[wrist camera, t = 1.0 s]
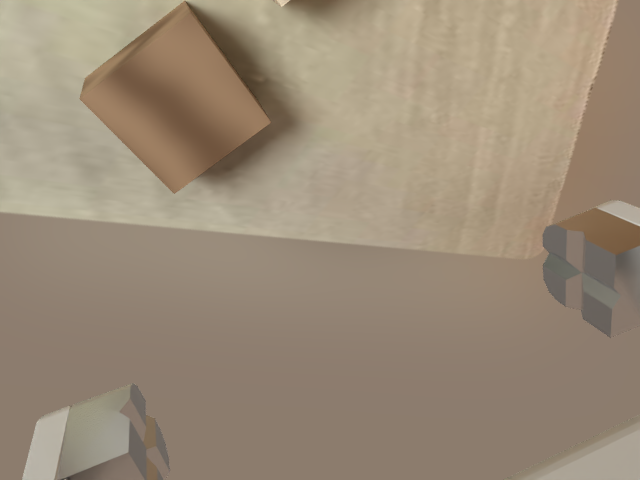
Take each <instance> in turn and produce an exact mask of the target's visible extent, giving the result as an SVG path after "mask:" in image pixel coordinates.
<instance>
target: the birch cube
mask: <svg viewBox="0 0 640 480" xmlns="http://www.w3.org/2000/svg"><path fill="white" fill-rule="evenodd" d="M273 1H274V2H276V3H277V4H279V5H280V6H281V7H282V6H283V5H285V4H286V3H287V2H289V1H290V0H273Z"/></svg>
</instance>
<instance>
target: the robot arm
mask: <svg viewBox="0 0 640 480" xmlns="http://www.w3.org/2000/svg"><path fill="white" fill-rule="evenodd" d="M543 247H544V248H545V249H546V250H547V251H548V252H549V255H548V257H547V258H546V260H545V262H544V264H543V277H544V281H545V283H546V286H547V288H548V290H549V292H550V293H551V294H552V296H553V297H554V298H555V299H556V300H557V301H558V302H560V303H561V304H563V305H564V306H565V307H569V308H573V309H579V310H581V313H582V317H583V319H584V320H585V321H587V322H588V323H590V324H591V325H593V326H594V327H595V328H597V329H598V330H600V331H601V332H603V333H604V334H606V335H607V336H609V337H610V338H611V337H614V336H616V335H619V334H621V333H624V332H626V331H629V330H631V329H633V328H636V327H638V326H640V208H638V207H635V206H633V205H630V204H627V203H625V202H622V201H620V200H619V201H617V200H610V201H608V202H605V203H603V204H601V205H598V206H596V207H593V208H591V209H589V210H588V211H586V212H583V213H580V214H578V215H575V216H573V217H570V218H568V219H565V220H562V221H560V222H558V223H555V224H552V225H550V226H547V227H546V228H545V231H544V233H543ZM169 472H170V468H169V457H168V453H167V448H166V444H165V441H164V438H163V435H162V432H161V430H160V428H159V426H158V424H157V422H156V420H155V418H152V417H150V416H147V415H146V404H145V399H144V397H143V395H142V393H141V391H140V390H139V388H138V386H136V385H135V384H133V383H132V384H129V385H126V386H124V387H121V388H118V389H115V390H113V391H110V392H107V393H104V394H102V395H99V396H96V397H93V398H90V399H88V400H85V401H82V402H79V403H76V404H74V405H73V406H68V407H65V408H63V409H60V410H57V411H55V412H52V413H49V414H47V415H45V416H43V417H41V418H40V419H39V420H38V422H37V424H36V428H35V432H34V436H33V440H32V443H31V447H30V451H29V455H28V459H27V463H26V467H25V471H24V475H23V479H22V480H165V479H166V478H167V476H168V474H169ZM504 480H640V415H638V416H636V417H634V418H632V419H630V420H627V421H625V422H623V423H621V424H619V425H617V426H615V427H613V428H611V429H609V430H607V431H605V432H602V433H601V434H598V435H596V436H594V437H592V438H590V439H588V440H586V441H584V442H581V443H580V444H577V445H575V446H573V447H571V448H569V449H567V450H565V451H563V452H561V453H558V454H556V455H554V456H552V457H550V458H548V459H546V460H544V461H542V462H540V463H538V464H535V465H533V466H531V467H529V468H527V469H525V470H523V471H521V472H519V473H517V474H515V475H513V476H510V477H508V478H506V479H504Z"/></svg>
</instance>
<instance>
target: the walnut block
mask: <svg viewBox="0 0 640 480" xmlns="http://www.w3.org/2000/svg"><path fill="white" fill-rule="evenodd" d="M80 100H81V101H82V102H83V103H84V104H85V105H86V106H87V107H88V108H89V109H90V110H91V111H92V112H93V113H94V114H95V115H96V116H97V117H98V118H99V119H100V120H101V121H102V122H103V123H104V124H105V125H106V126H107V127H108V128H109V129H110V130H111V131H112V132H113V133H114V134H115V135H116V136H117V137H118V138H119V139H120V140H121V141H122V142H123V143H124V144H125V145H126V146H127V147H128V148H129V149H130V150H131V151H132V152H133V153H134V154H135V155H136V156H137V157H138V158H139V159H140V160H141V161H142V162H143V163H144V164H145V165H146V166H147V167H148V168H149V169H150V170H151V171H152V172H153V173H154V174H155V175H156V176H157V177H158V178H159V179H160V180H161V181H162V182H163V183H164V184H165V185H166V186H167V187H168V188H169V189H170V190H171V191H172V192H173V193H174V194H175V193H176V192H177V191H179V190H180V189H182V188H183V187H184V186H186V185H187V184H188V183H190V182H191V181H192V180H194V179H195V178H196V177H198V176H199V175H201V174H202V173H203V172H205V171H206V170H207V169H209V168H210V167H211V166H213V165H214V164H215V163H217V162H218V161H220V160H221V159H222V158H224V157H225V156H226V155H228V154H229V153H230V152H232V151H233V150H235V149H236V148H237V147H239V146H240V145H241V144H243V143H244V142H245V141H247V140H248V139H249V138H251V137H252V136H254V135H255V134H256V133H258V132H259V131H260V130H262V129H263V128H264V127H266V126H267V125H268V124H270V123H271V121H270V119H269V118H268V116H267V115H266V113H265V111H264V110H263V108H262V106H261V105H260V103H259V102H258V100H257V99H256V97H255V96H254V95H253V93H252V92H251V91H250V89H249V88H248V87H247V85H246V84H245V82H244V81H243V80H242V78H241V77H240V76H239V74H238V73H237V72H236V70H235V69H234V67H233V66H232V65H231V63H230V62H229V61H228V59H227V58H226V56H225V55H224V54H223V52H222V51H221V50H220V48H219V47H218V46H217V44H216V43H215V41H214V40H213V39H212V37H211V36H210V35H209V33H208V32H207V30H206V29H205V28H204V26H203V25H202V24H201V22H200V21H199V20H198V18H197V17H196V15H195V14H194V13H193V11H192V10H191V9H190V7H189V6H188V5H187V3H186V2H185V1H184V2H183V3H181V4H180V5H179V6H177V7H176V8H175V9H174V10H172V11H171V12H170V13H168V14H167V15H166V16H165V17H163V18H162V19H161V20H159V21H158V22H157V23H156V24H154V25H153V26H152V27H150V28H149V29H148V30H147V31H145V32H144V33H143V34H141V35H140V36H139V37H138V38H136V39H135V40H134V41H132V42H131V43H130V44H128V45H127V46H126V47H125V48H123V49H122V50H121V51H119V52H118V53H117V54H116V55H114V56H113V57H112V58H110V59H109V60H108V61H107V62H105V63H104V64H103V65H101V66H100V67H99V68H98V69H96V70H95V71H94V72H92V73H91V74H90V75H89V76H87V77H86V78H85V81H84V84H83V88H82V92H81V95H80Z"/></svg>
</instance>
